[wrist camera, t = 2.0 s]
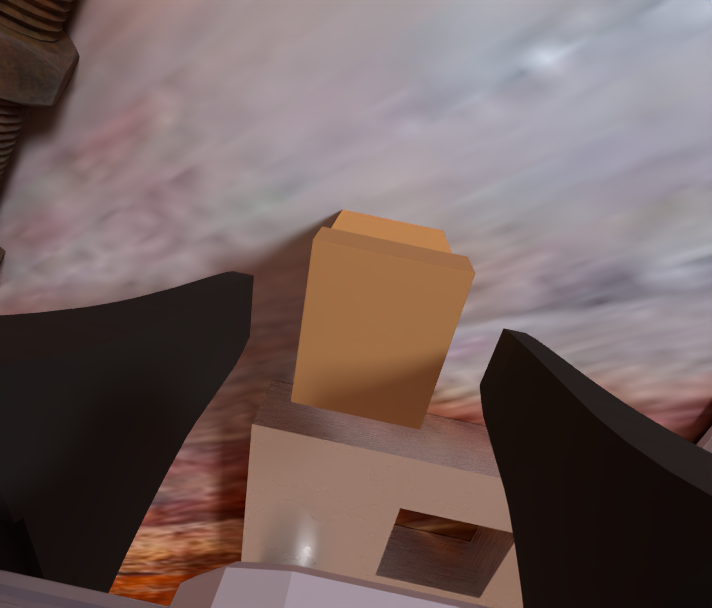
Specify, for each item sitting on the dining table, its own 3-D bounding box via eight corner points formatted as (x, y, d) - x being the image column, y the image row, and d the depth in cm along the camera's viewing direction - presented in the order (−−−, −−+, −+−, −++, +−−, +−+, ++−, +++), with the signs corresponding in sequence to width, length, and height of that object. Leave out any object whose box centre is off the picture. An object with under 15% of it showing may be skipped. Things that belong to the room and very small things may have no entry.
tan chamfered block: (447, 215, 15) (475, 273, 9) (413, 330, 17) (420, 429, 12) (345, 193, 15) (313, 239, 9) (325, 311, 17) (290, 401, 12)
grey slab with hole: (591, 449, 19) (686, 616, 12) (482, 614, 26) (509, 772, 20) (273, 380, 19) (209, 510, 13) (253, 563, 26) (207, 704, 20)
